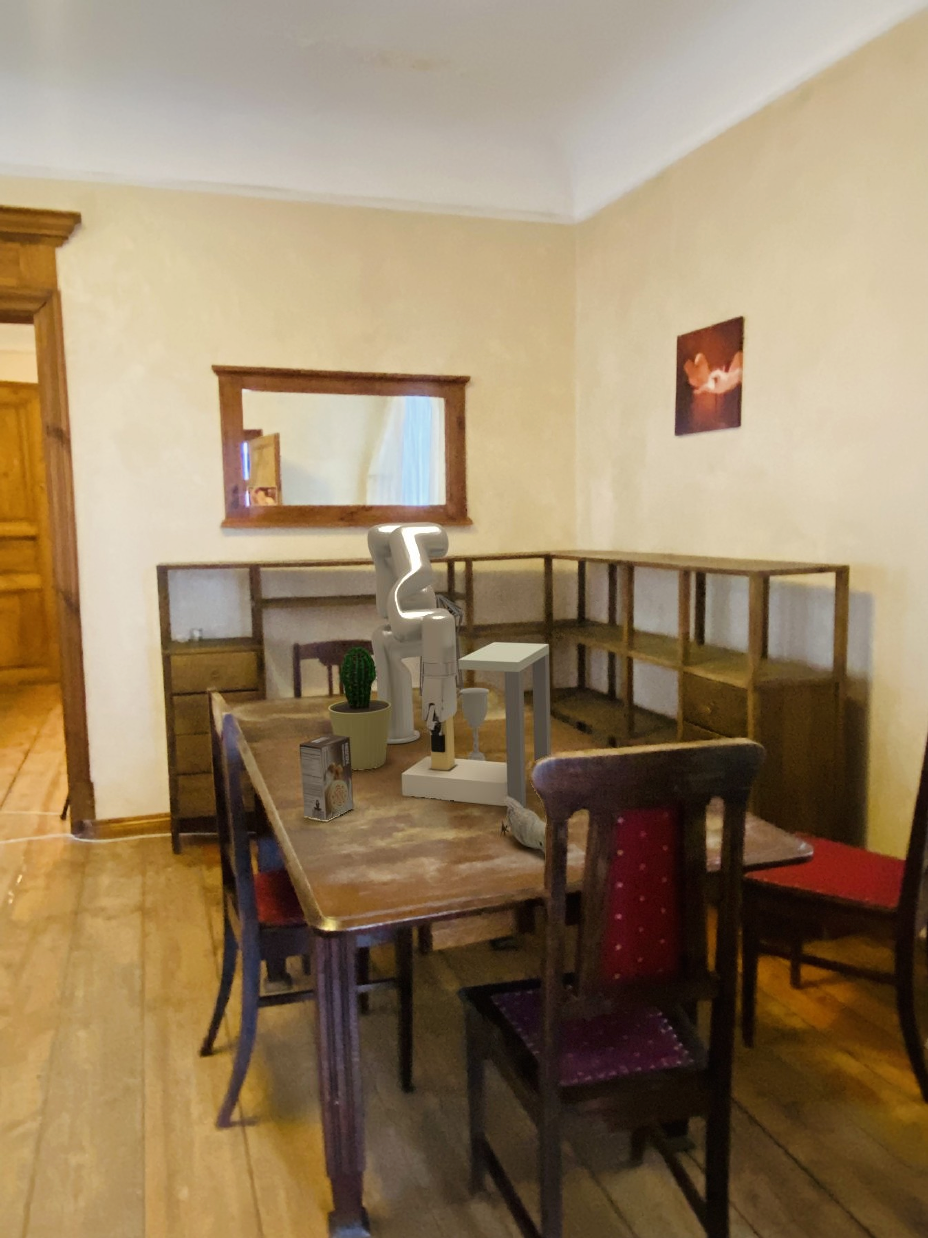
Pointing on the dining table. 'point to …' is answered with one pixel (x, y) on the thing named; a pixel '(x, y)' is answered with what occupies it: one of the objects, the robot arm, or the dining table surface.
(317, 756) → the coffee box
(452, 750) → the peg
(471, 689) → the chalice
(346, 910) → the dining table surface
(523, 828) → the decorative bird
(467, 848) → the dining table surface
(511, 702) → the c-shaped stand
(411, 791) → the socket block
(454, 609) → the geometric lantern
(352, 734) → the potted cactus
